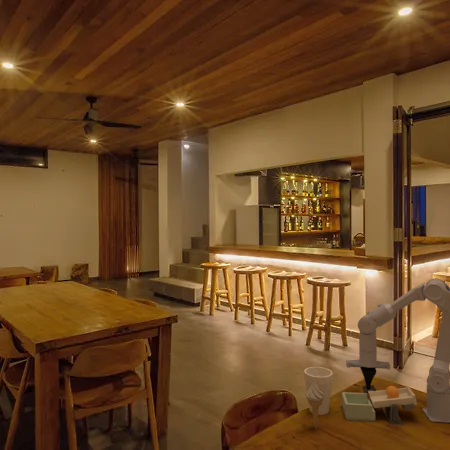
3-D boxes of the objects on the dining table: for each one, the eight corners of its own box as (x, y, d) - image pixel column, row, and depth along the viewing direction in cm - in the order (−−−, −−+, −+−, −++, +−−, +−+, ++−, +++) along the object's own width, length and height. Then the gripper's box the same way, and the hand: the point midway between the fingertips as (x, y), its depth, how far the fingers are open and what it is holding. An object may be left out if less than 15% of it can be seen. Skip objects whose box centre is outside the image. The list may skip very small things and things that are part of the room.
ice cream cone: (314, 435, 117) (313, 385, 117) (302, 426, 122) (301, 378, 122) (328, 430, 120) (328, 381, 119) (316, 422, 125) (315, 375, 124)
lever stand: (393, 407, 133) (392, 391, 133) (403, 424, 122) (402, 407, 122) (380, 407, 134) (380, 391, 134) (389, 424, 123) (389, 406, 123)
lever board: (403, 390, 138) (401, 376, 138) (418, 411, 123) (415, 395, 123) (363, 394, 140) (360, 380, 140) (373, 415, 125) (370, 400, 125)
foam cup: (334, 418, 127) (333, 378, 127) (304, 416, 129) (304, 376, 129) (332, 404, 136) (331, 367, 136) (304, 402, 138) (304, 366, 138)
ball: (395, 382, 129) (383, 385, 130) (398, 387, 126) (386, 390, 126) (398, 394, 129) (386, 397, 130) (402, 399, 125) (389, 402, 126)
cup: (369, 408, 133) (369, 393, 133) (375, 421, 124) (375, 405, 124) (341, 406, 135) (341, 392, 135) (345, 419, 126) (345, 404, 126)
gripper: (386, 346, 141) (386, 384, 141) (344, 345, 143) (345, 382, 143) (391, 353, 134) (391, 393, 134) (347, 351, 136) (348, 390, 136)
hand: (367, 388), depth 138 cm, fingers closed, pressing on lever board
